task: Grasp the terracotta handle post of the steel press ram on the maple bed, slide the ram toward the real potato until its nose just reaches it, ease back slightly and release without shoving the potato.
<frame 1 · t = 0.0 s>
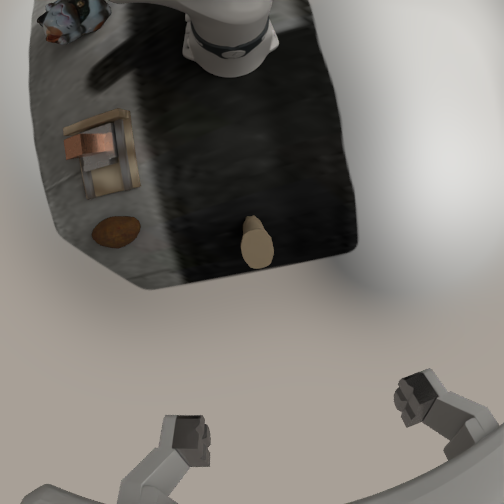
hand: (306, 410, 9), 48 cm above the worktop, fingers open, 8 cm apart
potato: (121, 227, 55), on the worktop
ram: (89, 148, 41), point 7 cm above the worktop, slide at 0.0 cm
lucky cat figurine: (86, 21, 35), on the worktop
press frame: (107, 155, 48), on the worktop
handle: (251, 222, 56), on the worktop
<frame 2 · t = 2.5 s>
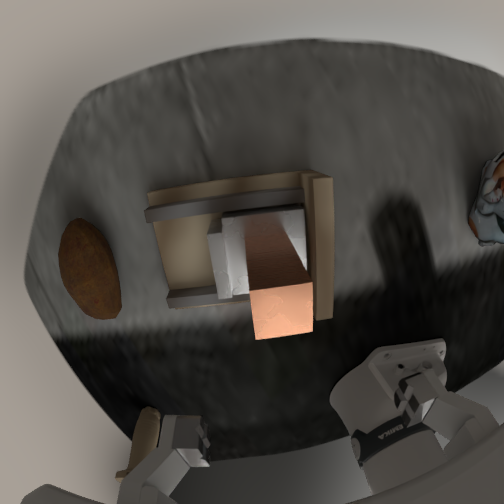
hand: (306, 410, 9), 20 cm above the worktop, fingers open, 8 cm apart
potato: (101, 259, 28), on the worktop
ram: (263, 270, 21), point 7 cm above the worktop, slide at 0.0 cm
lucky cat figurine: (485, 193, 27), on the worktop
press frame: (238, 241, 28), on the worktop
handle: (151, 409, 39), on the worktop
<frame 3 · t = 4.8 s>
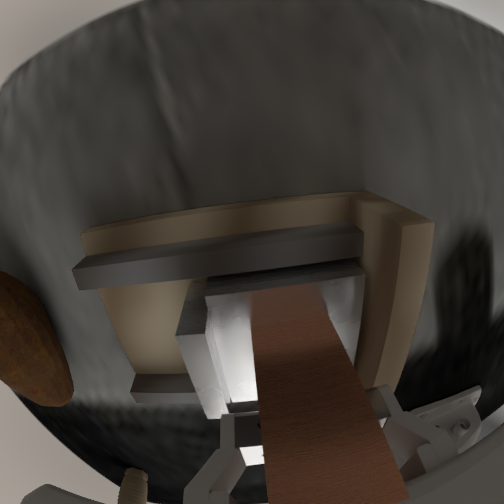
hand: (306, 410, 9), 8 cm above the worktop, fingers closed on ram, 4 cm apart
potato: (43, 319, 17), on the worktop
ram: (289, 401, 10), point 7 cm above the worktop, slide at 0.0 cm, touching gripper
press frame: (238, 310, 17), on the worktop
handle: (137, 469, 27), on the worktop
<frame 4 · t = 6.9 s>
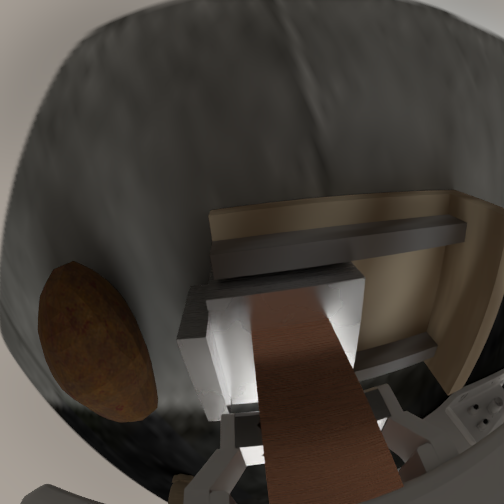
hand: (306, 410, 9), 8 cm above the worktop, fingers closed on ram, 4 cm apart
potato: (115, 320, 17), on the worktop
ram: (289, 404, 10), point 7 cm above the worktop, slide at 7.4 cm, touching gripper
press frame: (353, 295, 17), on the worktop
handle: (185, 475, 27), on the worktop
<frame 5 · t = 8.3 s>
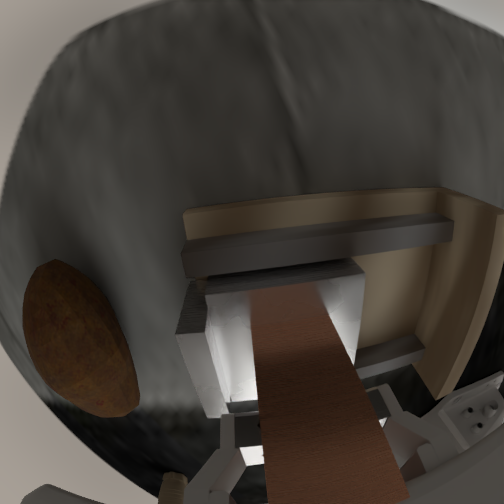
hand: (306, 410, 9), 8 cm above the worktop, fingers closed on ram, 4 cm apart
potato: (99, 317, 17), on the worktop
ram: (289, 401, 10), point 7 cm above the worktop, slide at 6.1 cm, touching gripper
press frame: (335, 295, 17), on the worktop
handle: (175, 473, 27), on the worktop
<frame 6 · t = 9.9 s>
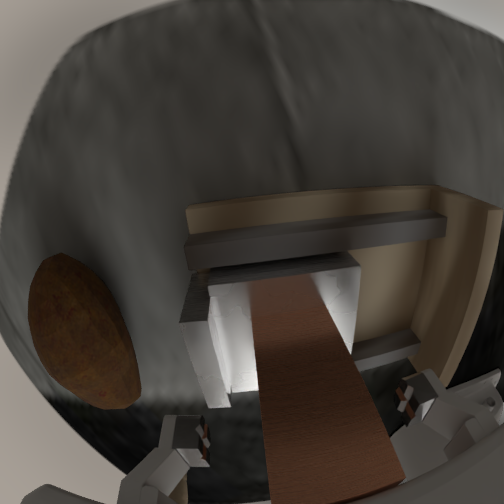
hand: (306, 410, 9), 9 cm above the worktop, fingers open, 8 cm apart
potato: (102, 311, 17), on the worktop
ram: (288, 388, 10), point 7 cm above the worktop, slide at 6.0 cm
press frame: (332, 289, 17), on the worktop
handle: (175, 469, 28), on the worktop
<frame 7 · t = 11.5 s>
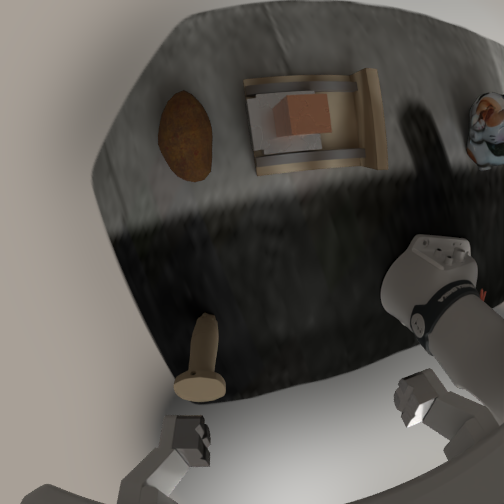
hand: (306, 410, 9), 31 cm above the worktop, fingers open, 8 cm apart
potato: (189, 137, 33), on the worktop
ram: (290, 119, 26), point 7 cm above the worktop, slide at 6.0 cm
lucky cat figurine: (475, 130, 33), on the worktop
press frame: (309, 121, 33), on the worktop
handle: (207, 319, 44), on the worktop
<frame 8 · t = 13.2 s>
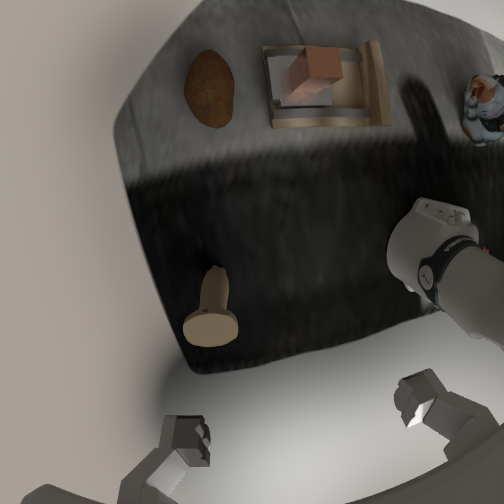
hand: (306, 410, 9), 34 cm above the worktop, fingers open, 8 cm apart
potato: (211, 93, 34), on the worktop
ram: (305, 74, 27), point 7 cm above the worktop, slide at 6.0 cm
lucky cat figurine: (470, 110, 35), on the worktop
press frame: (320, 85, 34), on the worktop
handle: (216, 272, 45), on the worktop
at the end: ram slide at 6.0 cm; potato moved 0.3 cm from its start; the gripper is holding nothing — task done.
